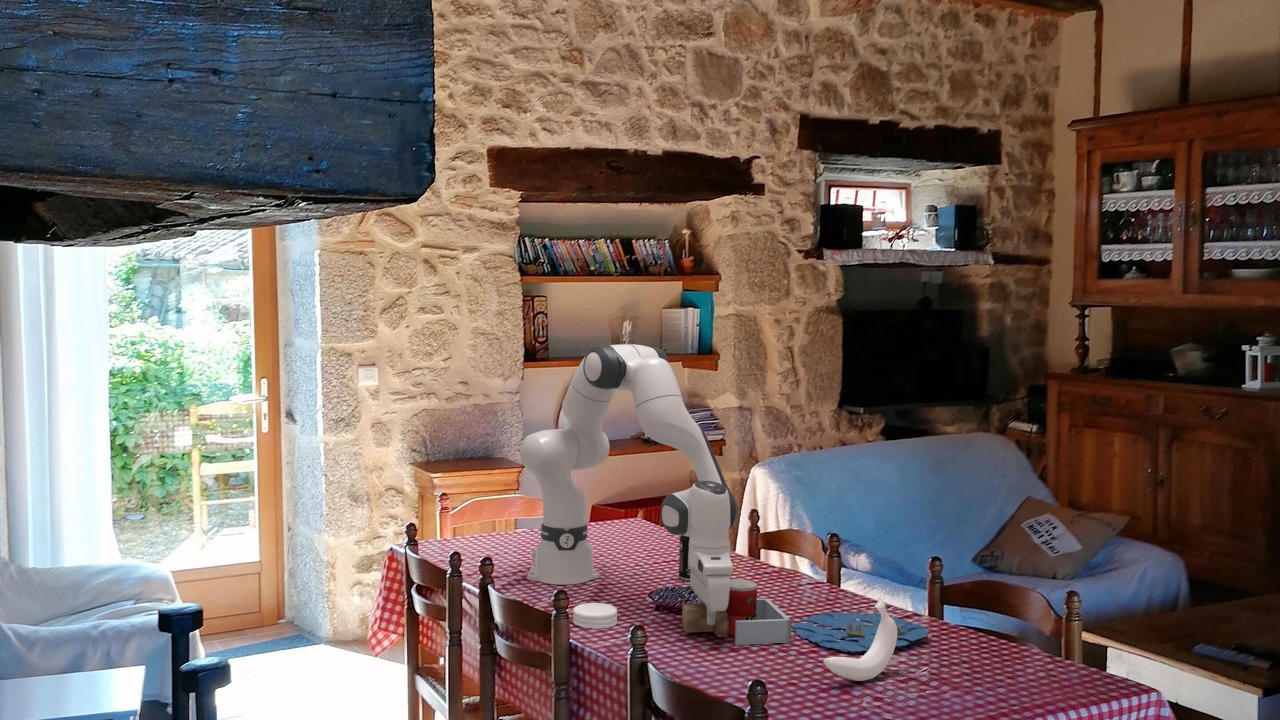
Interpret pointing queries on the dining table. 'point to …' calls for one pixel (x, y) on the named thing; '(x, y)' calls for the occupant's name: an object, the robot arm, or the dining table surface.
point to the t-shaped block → (703, 620)
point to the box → (764, 626)
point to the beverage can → (684, 558)
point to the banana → (869, 652)
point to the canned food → (741, 603)
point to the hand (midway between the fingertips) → (707, 620)
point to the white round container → (595, 615)
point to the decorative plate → (854, 630)
